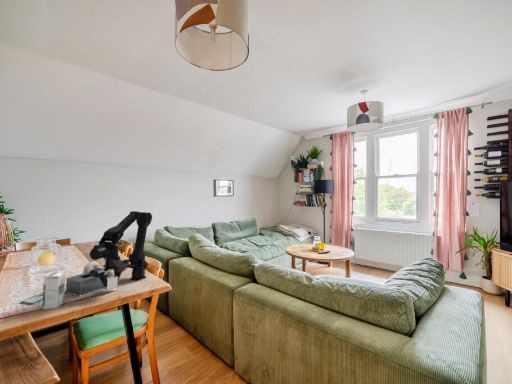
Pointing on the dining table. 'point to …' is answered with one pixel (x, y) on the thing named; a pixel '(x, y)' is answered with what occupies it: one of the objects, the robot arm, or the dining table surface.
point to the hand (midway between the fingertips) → (110, 285)
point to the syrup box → (53, 290)
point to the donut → (90, 265)
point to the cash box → (83, 283)
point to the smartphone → (33, 299)
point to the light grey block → (111, 282)
